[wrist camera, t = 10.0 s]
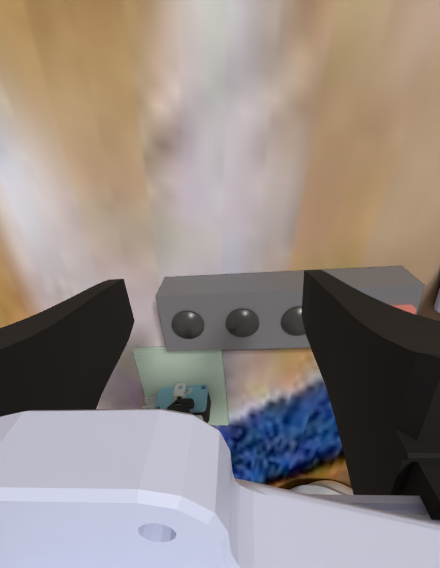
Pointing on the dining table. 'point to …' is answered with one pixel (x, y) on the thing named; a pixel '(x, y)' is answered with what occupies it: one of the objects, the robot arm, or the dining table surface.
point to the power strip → (262, 306)
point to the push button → (183, 400)
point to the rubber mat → (184, 375)
